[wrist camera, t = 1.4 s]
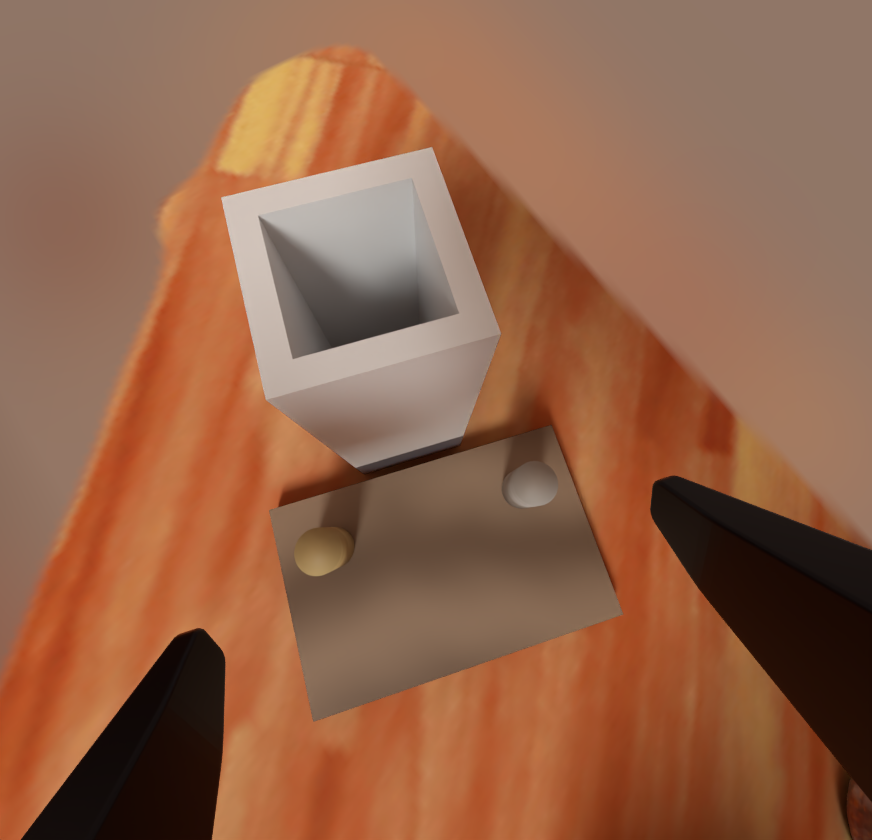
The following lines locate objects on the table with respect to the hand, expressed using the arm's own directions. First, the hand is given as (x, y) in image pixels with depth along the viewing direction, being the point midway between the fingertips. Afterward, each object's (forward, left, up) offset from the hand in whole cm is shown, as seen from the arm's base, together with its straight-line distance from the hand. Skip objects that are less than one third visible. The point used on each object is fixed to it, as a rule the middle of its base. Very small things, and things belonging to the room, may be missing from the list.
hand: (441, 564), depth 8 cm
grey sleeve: (+5, +4, -13) cm, 14 cm away
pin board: (-1, -1, -13) cm, 13 cm away
